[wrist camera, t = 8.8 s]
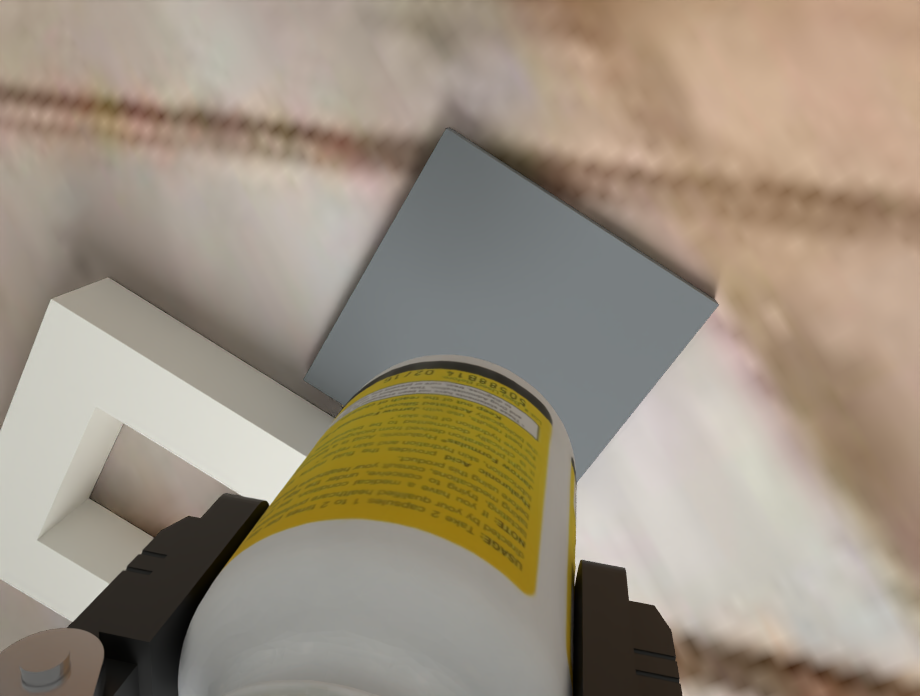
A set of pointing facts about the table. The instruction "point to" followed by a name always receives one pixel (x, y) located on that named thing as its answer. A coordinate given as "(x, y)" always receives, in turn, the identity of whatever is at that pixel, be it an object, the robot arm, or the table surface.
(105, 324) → the frame
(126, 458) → the table surface
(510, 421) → the supplement bottle
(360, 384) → the rubber pad
